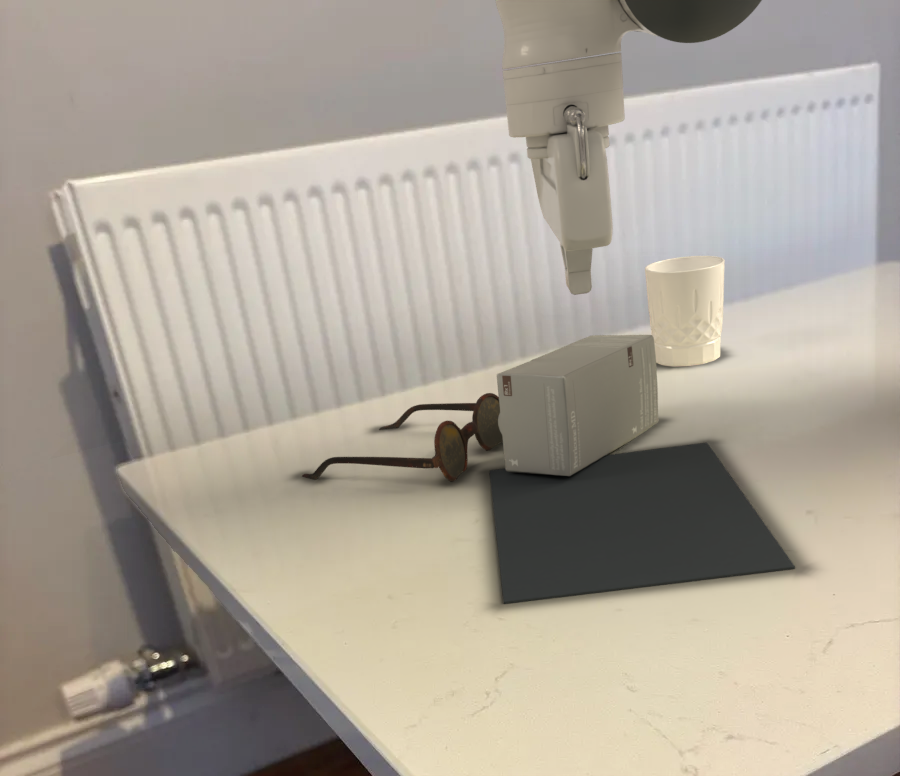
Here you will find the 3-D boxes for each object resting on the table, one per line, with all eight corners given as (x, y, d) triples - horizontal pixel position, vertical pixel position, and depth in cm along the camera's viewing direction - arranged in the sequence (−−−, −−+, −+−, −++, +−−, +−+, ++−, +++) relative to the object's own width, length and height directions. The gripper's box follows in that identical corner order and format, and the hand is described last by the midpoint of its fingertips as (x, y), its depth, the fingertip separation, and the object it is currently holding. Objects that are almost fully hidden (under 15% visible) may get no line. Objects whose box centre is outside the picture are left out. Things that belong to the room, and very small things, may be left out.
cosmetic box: (661, 423, 91) (580, 484, 80) (589, 420, 95) (502, 478, 84) (656, 328, 88) (570, 377, 76) (581, 329, 92) (489, 375, 80)
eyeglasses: (441, 496, 83) (432, 437, 81) (296, 484, 90) (284, 430, 88) (519, 435, 94) (513, 382, 92) (384, 429, 101) (375, 379, 99)
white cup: (634, 367, 109) (628, 270, 104) (680, 348, 113) (676, 254, 109) (695, 375, 103) (692, 273, 99) (741, 355, 108) (740, 256, 103)
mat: (707, 448, 85) (706, 442, 84) (795, 575, 63) (795, 566, 63) (490, 476, 86) (489, 470, 85) (504, 610, 64) (503, 601, 64)
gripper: (627, 101, 68) (638, 311, 74) (590, 95, 86) (601, 265, 93) (532, 115, 68) (551, 323, 75) (515, 107, 87) (532, 275, 93)
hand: (579, 290), depth 84 cm, fingers closed
